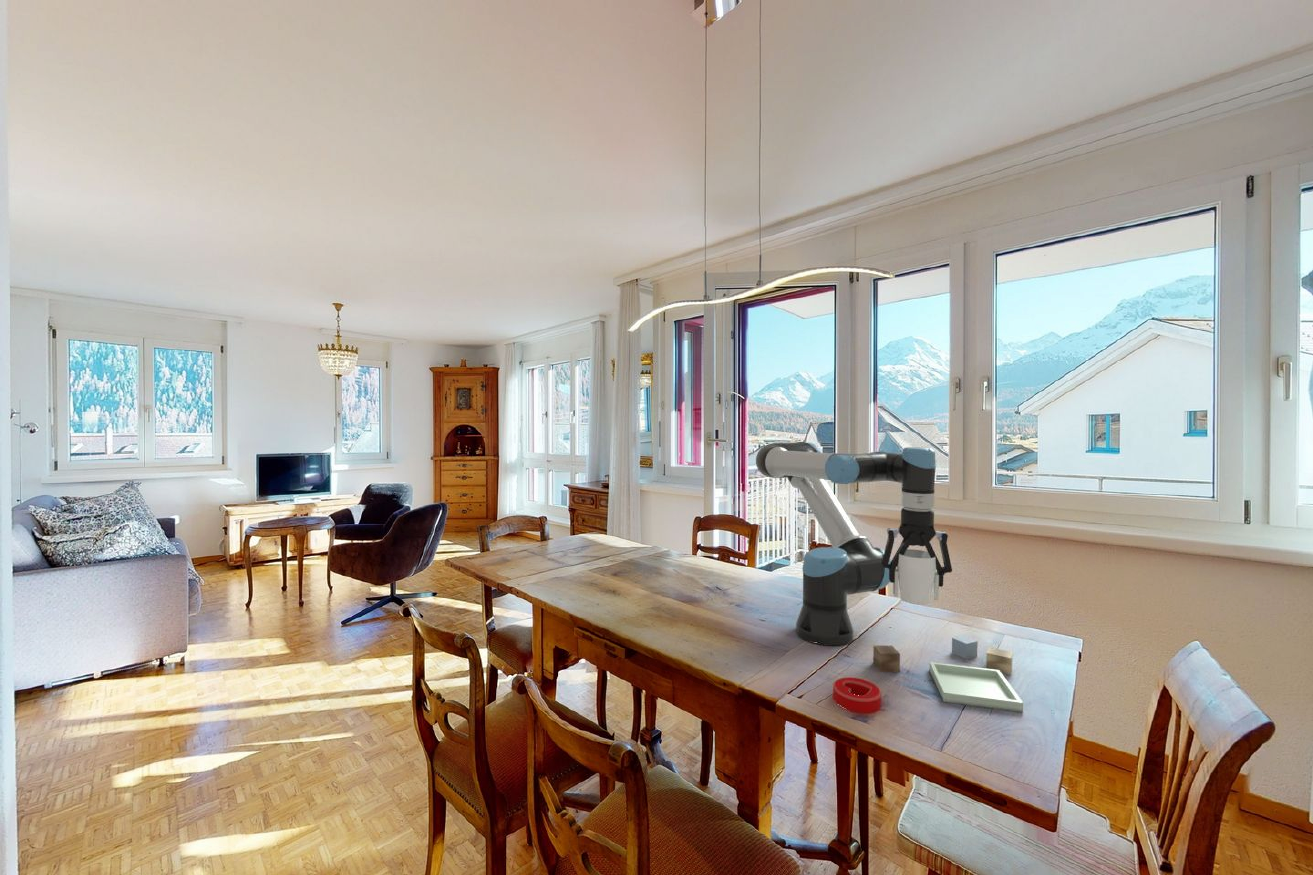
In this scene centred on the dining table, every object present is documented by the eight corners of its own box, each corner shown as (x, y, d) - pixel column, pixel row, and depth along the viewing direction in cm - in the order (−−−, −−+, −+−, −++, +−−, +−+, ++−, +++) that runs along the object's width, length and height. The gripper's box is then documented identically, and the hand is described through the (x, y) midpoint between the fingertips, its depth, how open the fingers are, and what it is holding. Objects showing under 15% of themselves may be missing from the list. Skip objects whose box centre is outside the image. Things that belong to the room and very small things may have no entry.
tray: (943, 701, 113) (943, 692, 113) (929, 670, 127) (929, 661, 127) (1022, 712, 109) (1023, 702, 109) (999, 678, 123) (999, 669, 123)
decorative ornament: (891, 707, 112) (891, 692, 112) (858, 719, 107) (858, 703, 107) (855, 686, 120) (855, 672, 120) (823, 696, 116) (823, 682, 116)
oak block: (986, 669, 128) (986, 652, 128) (987, 662, 131) (988, 646, 131) (1011, 675, 125) (1011, 658, 125) (1012, 668, 128) (1012, 652, 128)
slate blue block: (966, 659, 133) (966, 643, 133) (951, 652, 137) (952, 637, 137) (977, 656, 135) (977, 641, 134) (962, 650, 138) (962, 635, 138)
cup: (940, 607, 130) (941, 559, 130) (900, 605, 132) (901, 557, 132) (929, 595, 139) (930, 550, 139) (892, 593, 141) (893, 548, 140)
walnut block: (880, 672, 127) (880, 653, 126) (873, 663, 131) (873, 645, 131) (899, 672, 127) (900, 653, 126) (891, 663, 131) (892, 645, 131)
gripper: (873, 509, 134) (871, 597, 135) (969, 513, 128) (966, 606, 129) (870, 504, 141) (868, 588, 142) (960, 508, 135) (958, 595, 136)
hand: (915, 596), depth 136 cm, fingers closed on cup, 9 cm apart
